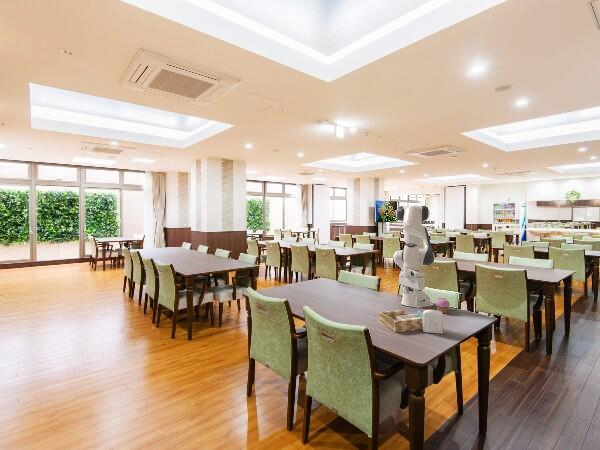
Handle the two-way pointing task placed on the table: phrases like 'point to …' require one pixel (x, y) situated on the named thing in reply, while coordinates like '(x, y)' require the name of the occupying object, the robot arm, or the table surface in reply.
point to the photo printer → (432, 321)
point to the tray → (410, 316)
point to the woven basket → (399, 321)
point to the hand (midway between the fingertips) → (410, 294)
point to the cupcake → (442, 305)
